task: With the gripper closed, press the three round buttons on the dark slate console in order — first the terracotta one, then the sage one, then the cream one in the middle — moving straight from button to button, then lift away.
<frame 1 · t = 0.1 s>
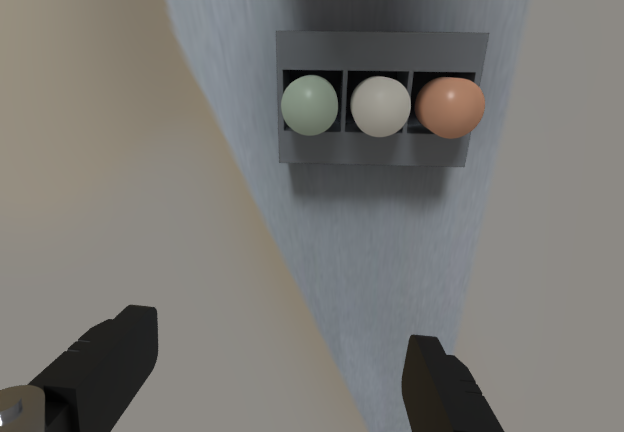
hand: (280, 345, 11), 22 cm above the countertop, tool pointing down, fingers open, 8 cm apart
terracotta button: (447, 106, 23), point 6 cm above the countertop, slide at 0.0 cm
sage button: (310, 104, 24), point 6 cm above the countertop, slide at 0.0 cm
cream button: (378, 105, 24), point 6 cm above the countertop, slide at 0.0 cm
console: (369, 97, 29), on the countertop
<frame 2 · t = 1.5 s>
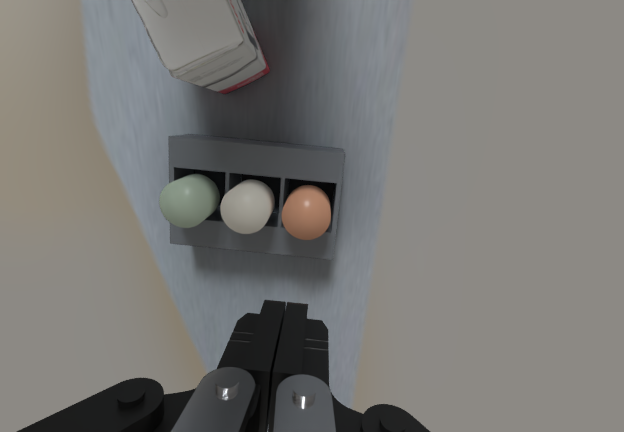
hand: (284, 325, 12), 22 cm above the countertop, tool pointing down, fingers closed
terracotta button: (307, 211, 27), point 6 cm above the countertop, slide at 0.0 cm
sage button: (191, 199, 27), point 6 cm above the countertop, slide at 0.0 cm
cream button: (249, 205, 27), point 6 cm above the countertop, slide at 0.0 cm
ink box: (228, 34, 30), on the countertop
console: (263, 189, 34), on the countertop
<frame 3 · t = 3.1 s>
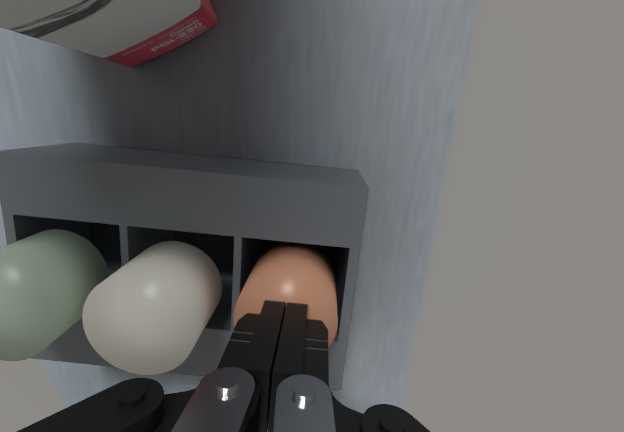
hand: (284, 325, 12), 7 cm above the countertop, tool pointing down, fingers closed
terracotta button: (289, 299, 14), point 5 cm above the countertop, slide at 1.1 cm, touching gripper
sage button: (35, 290, 13), point 6 cm above the countertop, slide at 0.0 cm
cream button: (160, 302, 13), point 6 cm above the countertop, slide at 0.0 cm
console: (214, 242, 19), on the countertop
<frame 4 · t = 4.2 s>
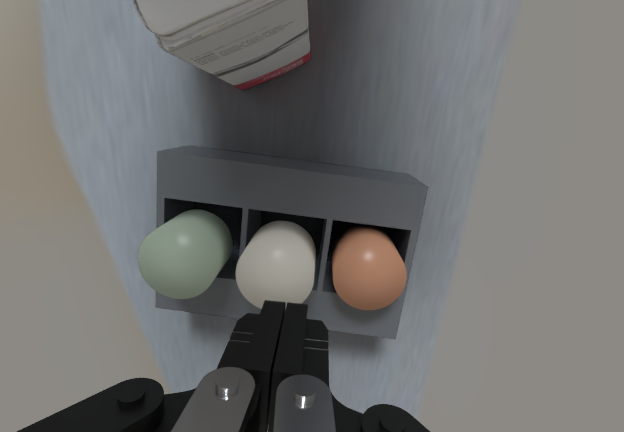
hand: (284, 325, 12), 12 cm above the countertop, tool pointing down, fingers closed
terracotta button: (366, 265, 19), point 5 cm above the countertop, slide at 1.3 cm
sage button: (189, 251, 18), point 6 cm above the countertop, slide at 0.0 cm
cream button: (278, 263, 18), point 6 cm above the countertop, slide at 0.0 cm
ink box: (251, 3, 21), on the countertop
console: (291, 227, 24), on the countertop
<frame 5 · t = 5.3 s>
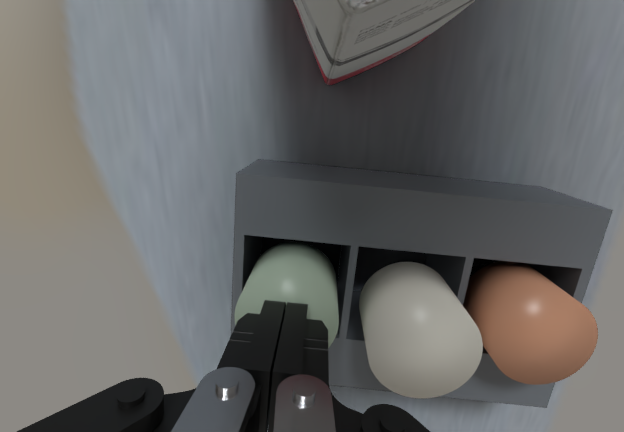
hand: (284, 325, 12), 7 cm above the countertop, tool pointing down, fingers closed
terracotta button: (521, 318, 14), point 5 cm above the countertop, slide at 1.3 cm
sage button: (290, 298, 14), point 5 cm above the countertop, slide at 1.0 cm, touching gripper
cream button: (413, 324, 13), point 6 cm above the countertop, slide at 0.0 cm
console: (385, 257, 19), on the countertop
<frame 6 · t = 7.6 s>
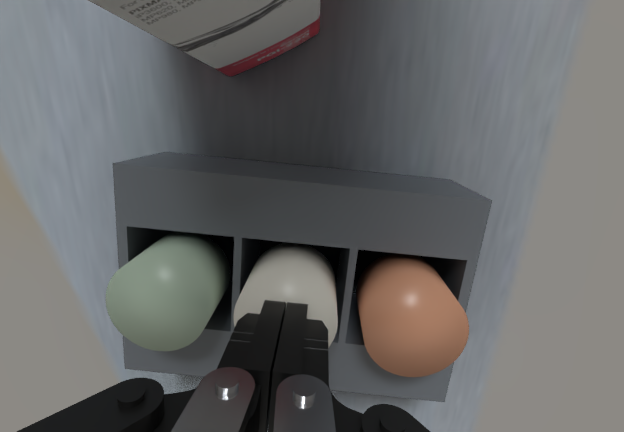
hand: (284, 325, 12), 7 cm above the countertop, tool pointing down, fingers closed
terracotta button: (406, 310, 14), point 5 cm above the countertop, slide at 1.3 cm
sage button: (174, 286, 14), point 5 cm above the countertop, slide at 1.3 cm
cream button: (289, 299, 14), point 5 cm above the countertop, slide at 1.2 cm, touching gripper
console: (299, 251, 19), on the countertop
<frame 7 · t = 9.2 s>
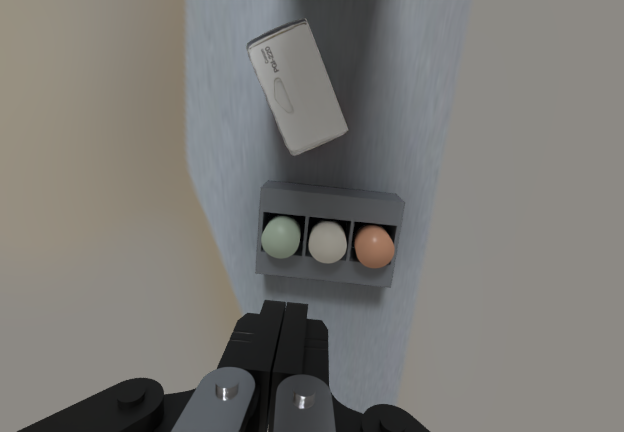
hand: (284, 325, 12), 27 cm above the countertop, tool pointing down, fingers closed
terracotta button: (373, 245, 35), point 5 cm above the countertop, slide at 1.3 cm
sage button: (282, 235, 35), point 5 cm above the countertop, slide at 1.3 cm
cream button: (327, 240, 35), point 5 cm above the countertop, slide at 1.3 cm
ink box: (304, 101, 37), on the countertop
console: (327, 226, 40), on the countertop
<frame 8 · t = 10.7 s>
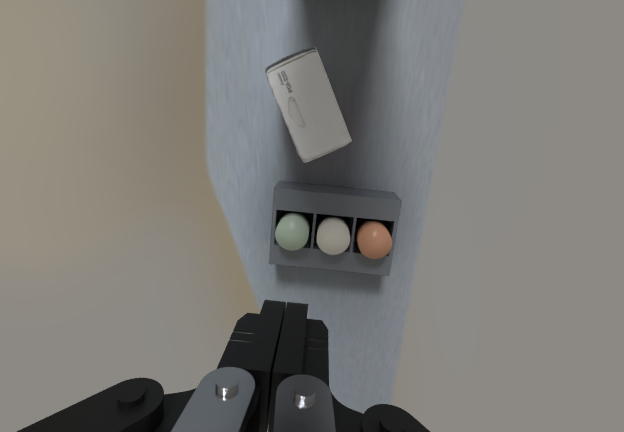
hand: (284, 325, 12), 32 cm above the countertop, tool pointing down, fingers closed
terracotta button: (373, 238, 40), point 5 cm above the countertop, slide at 1.3 cm
sage button: (292, 230, 40), point 5 cm above the countertop, slide at 1.3 cm
cream button: (333, 234, 40), point 5 cm above the countertop, slide at 1.3 cm
ink box: (312, 110, 41), on the countertop
console: (332, 222, 44), on the countertop
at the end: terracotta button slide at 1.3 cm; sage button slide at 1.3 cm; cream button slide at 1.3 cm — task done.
